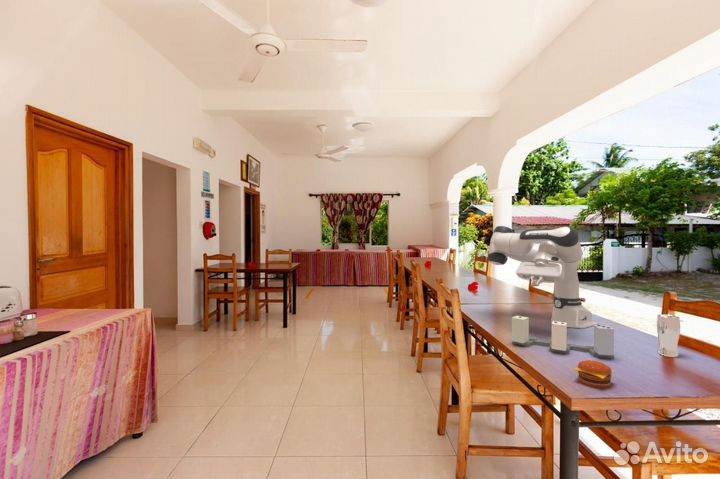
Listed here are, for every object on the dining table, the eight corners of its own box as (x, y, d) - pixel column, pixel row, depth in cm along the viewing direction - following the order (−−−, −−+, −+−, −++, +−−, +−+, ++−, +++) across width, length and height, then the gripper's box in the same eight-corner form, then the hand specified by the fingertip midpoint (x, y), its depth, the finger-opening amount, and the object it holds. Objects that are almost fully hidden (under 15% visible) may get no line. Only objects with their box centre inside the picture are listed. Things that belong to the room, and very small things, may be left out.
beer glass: (684, 358, 137) (684, 318, 137) (663, 357, 139) (663, 318, 138) (672, 352, 144) (672, 314, 144) (652, 351, 145) (652, 313, 145)
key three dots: (593, 350, 142) (593, 324, 142) (608, 351, 141) (608, 324, 140) (598, 354, 137) (598, 327, 137) (613, 355, 136) (613, 328, 135)
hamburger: (605, 391, 110) (605, 370, 110) (571, 381, 118) (571, 361, 118) (617, 383, 116) (617, 362, 116) (584, 374, 124) (584, 354, 123)
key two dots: (552, 345, 148) (552, 320, 148) (566, 347, 146) (566, 321, 145) (551, 348, 144) (551, 323, 144) (566, 350, 141) (566, 324, 141)
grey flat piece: (515, 338, 165) (515, 334, 165) (612, 351, 145) (612, 348, 145) (510, 345, 155) (510, 341, 155) (614, 360, 135) (614, 356, 135)
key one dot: (517, 338, 158) (517, 314, 158) (528, 341, 154) (528, 316, 154) (511, 340, 155) (511, 316, 155) (523, 343, 151) (523, 318, 151)
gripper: (519, 256, 176) (509, 278, 169) (565, 258, 160) (556, 283, 154) (523, 265, 179) (514, 287, 172) (569, 267, 163) (560, 292, 157)
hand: (534, 285), depth 163 cm, fingers closed
